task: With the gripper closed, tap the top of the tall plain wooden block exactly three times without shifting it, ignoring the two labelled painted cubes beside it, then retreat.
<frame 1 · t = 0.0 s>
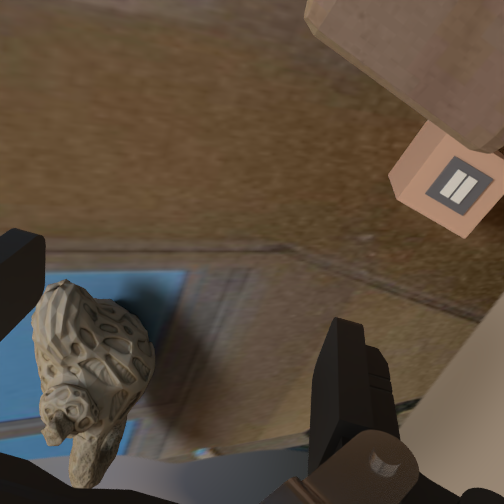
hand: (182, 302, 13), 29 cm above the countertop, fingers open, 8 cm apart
teapot: (119, 332, 52), on the countertop
terracotta cube: (440, 162, 39), on the countertop
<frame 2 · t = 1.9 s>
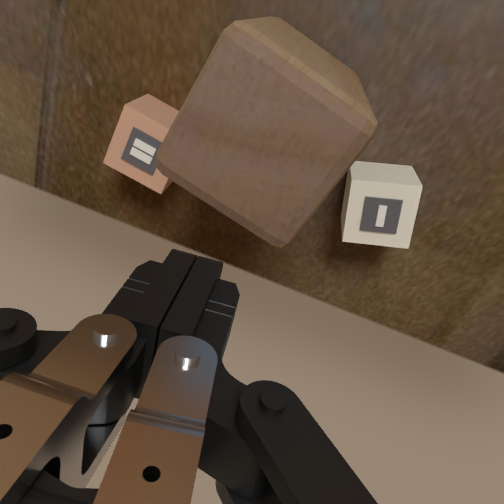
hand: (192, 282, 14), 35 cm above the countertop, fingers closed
cream cube: (375, 192, 48), on the countertop
wooden block: (287, 93, 45), on the countertop
terracotta cube: (164, 135, 48), on the countertop
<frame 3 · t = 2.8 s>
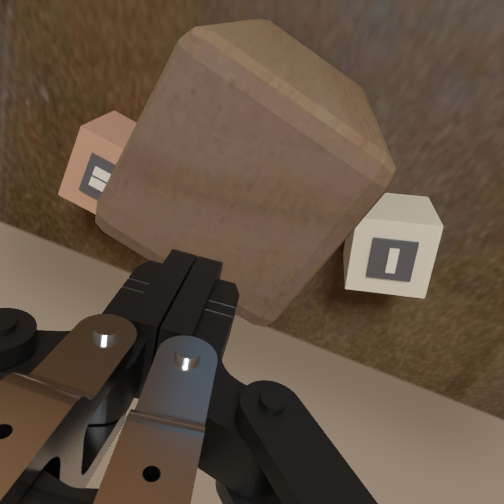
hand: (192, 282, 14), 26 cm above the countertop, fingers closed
cream cube: (383, 226, 40), on the countertop
wooden block: (278, 110, 37), on the countertop
terracotta cube: (134, 159, 41), on the countertop
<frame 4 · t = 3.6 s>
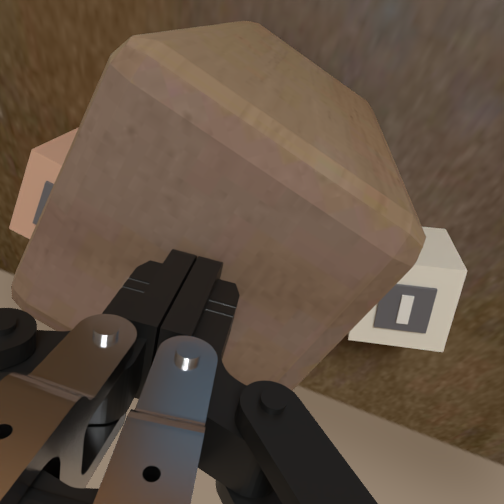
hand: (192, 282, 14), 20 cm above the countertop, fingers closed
cream cube: (392, 261, 35), on the countertop
wooden block: (270, 128, 32), on the countertop, touching gripper
terracotta cube: (104, 183, 35), on the countertop
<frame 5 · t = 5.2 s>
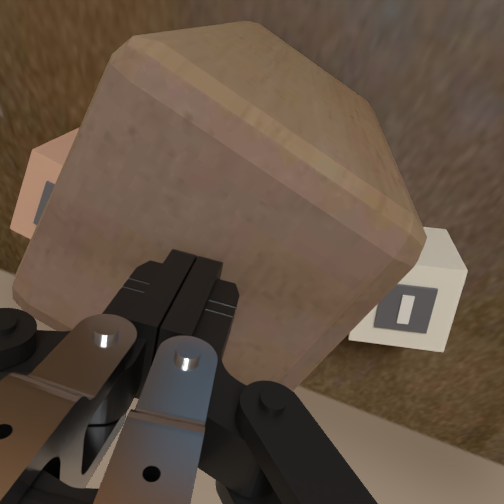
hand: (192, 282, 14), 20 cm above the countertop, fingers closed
cream cube: (393, 261, 35), on the countertop
wooden block: (270, 128, 32), on the countertop, touching gripper
terracotta cube: (104, 183, 35), on the countertop
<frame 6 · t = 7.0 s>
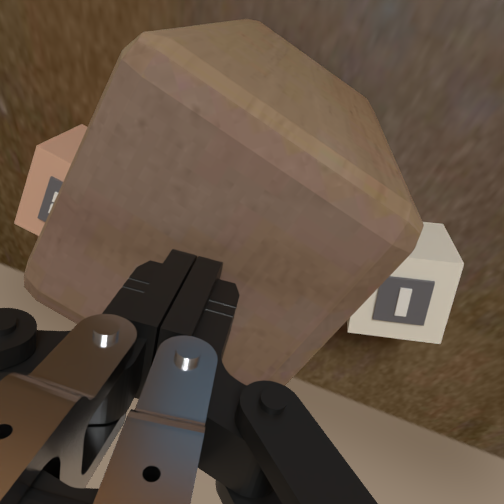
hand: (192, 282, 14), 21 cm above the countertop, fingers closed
cream cube: (391, 256, 35), on the countertop
wooden block: (271, 125, 32), on the countertop
terracotta cube: (107, 179, 36), on the countertop
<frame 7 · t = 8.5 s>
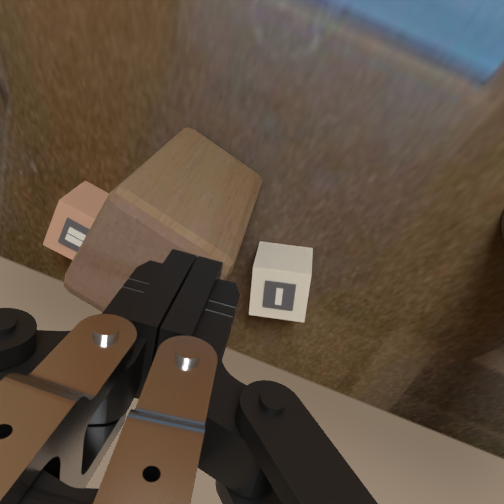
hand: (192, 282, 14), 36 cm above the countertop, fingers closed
cream cube: (283, 267, 55), on the countertop
wooden block: (204, 185, 52), on the countertop
terracotta cube: (100, 214, 55), on the countertop
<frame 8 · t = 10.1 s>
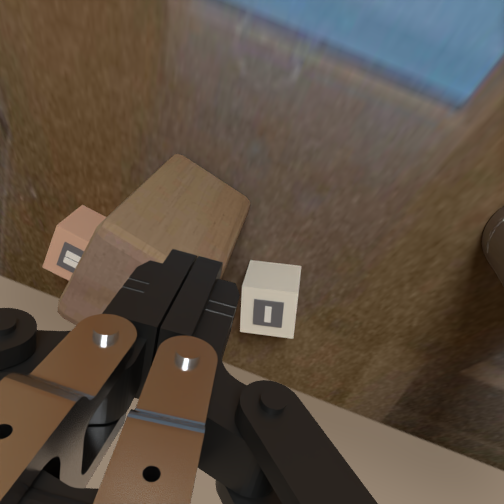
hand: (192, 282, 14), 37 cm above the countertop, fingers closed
cream cube: (273, 284, 57), on the countertop
wooden block: (195, 207, 54), on the countertop
terracotta cube: (98, 236, 57), on the countertop
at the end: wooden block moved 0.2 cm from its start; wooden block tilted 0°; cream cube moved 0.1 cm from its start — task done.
